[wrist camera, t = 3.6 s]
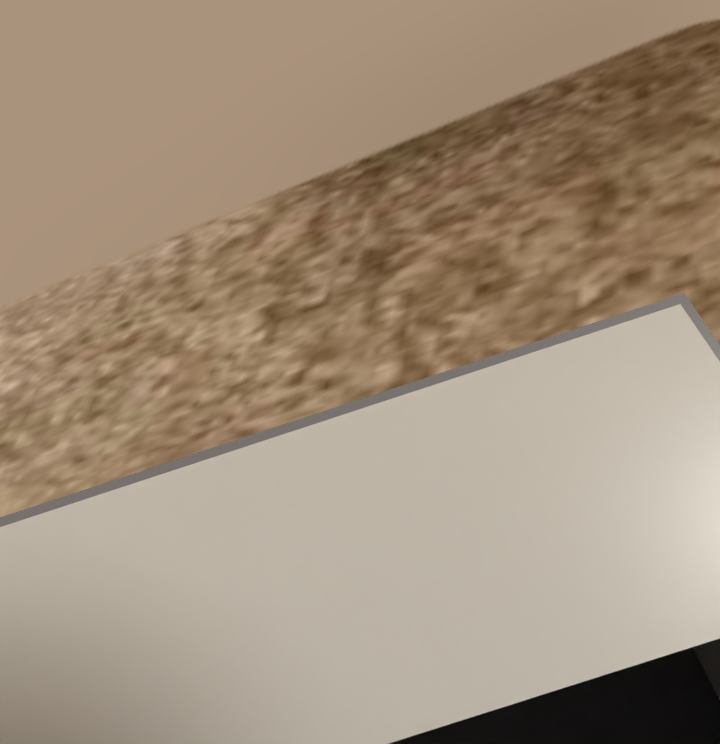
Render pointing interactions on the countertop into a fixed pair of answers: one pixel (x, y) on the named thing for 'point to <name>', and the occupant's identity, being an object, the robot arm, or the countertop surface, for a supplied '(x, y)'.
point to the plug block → (399, 566)
